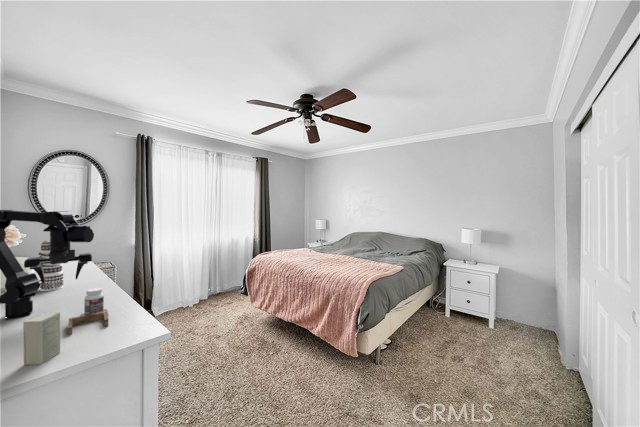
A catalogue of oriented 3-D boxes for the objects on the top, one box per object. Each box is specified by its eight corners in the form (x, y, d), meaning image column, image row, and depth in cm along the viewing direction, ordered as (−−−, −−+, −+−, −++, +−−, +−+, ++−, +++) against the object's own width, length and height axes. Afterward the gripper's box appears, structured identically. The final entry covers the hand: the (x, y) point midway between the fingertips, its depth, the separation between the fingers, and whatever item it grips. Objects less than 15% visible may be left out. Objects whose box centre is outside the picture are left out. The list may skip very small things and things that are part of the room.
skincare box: (45, 352, 76) (44, 312, 75) (61, 352, 76) (61, 311, 76) (22, 365, 69) (21, 321, 69) (40, 365, 70) (39, 321, 70)
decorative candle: (51, 291, 129) (51, 242, 128) (33, 291, 129) (32, 241, 129) (69, 286, 138) (69, 239, 138) (52, 285, 138) (52, 239, 138)
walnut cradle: (67, 335, 86) (67, 327, 86) (68, 325, 93) (68, 318, 93) (108, 325, 93) (108, 319, 93) (106, 317, 100) (106, 311, 100)
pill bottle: (92, 318, 99) (92, 292, 99) (80, 316, 100) (80, 291, 100) (107, 312, 104) (107, 288, 104) (96, 310, 105) (96, 286, 105)
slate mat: (81, 321, 96) (81, 320, 96) (81, 314, 102) (81, 313, 102) (108, 315, 102) (108, 314, 102) (107, 309, 108) (107, 308, 108)
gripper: (21, 247, 91) (21, 291, 91) (92, 242, 103) (92, 281, 104) (26, 243, 99) (26, 283, 99) (91, 240, 111) (91, 275, 112)
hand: (60, 281), depth 103 cm, fingers open, 9 cm apart
